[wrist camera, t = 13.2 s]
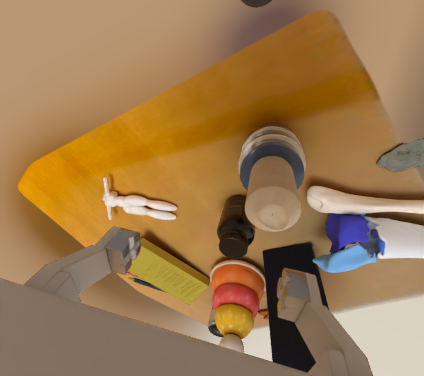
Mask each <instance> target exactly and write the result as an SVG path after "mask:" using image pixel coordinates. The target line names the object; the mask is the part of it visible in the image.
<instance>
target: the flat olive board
mask: <svg viewBox="0 0 424 376" xmlns="http://www.w3.org/2000/svg"><path fill="white" fill-rule="evenodd" d="M139 241H140V242H141V250H140V253H139V255H138V257H137V258H136V259H135V260H133V261H132V266H131V267H130V269H129V270H128V272H130V273H132V274H134V275H136V276H137V277H139V278H141V279H143V280H145V281H147V282H148V283H150V284H152V285H154V286H156V287H157V288H159V289H161V290H163V291H165V292H167V293H168V294H170V295H172V296H174V297H176V298H177V299H179V300H181V301H183V302H185V303H187V304H188V305H190V304H191V303H192V302H193V301H194V300H195V299H196V298H197V297H198V296H199V295H200V294H201V293H202V292H203V291H204V290H205V289H206V288H207V287H208V286H209V282H210V279H209V278H208V277H206V276H205V275H203V274H201V273H200V272H198V271H196V270H195V269H193V268H192V267H190V266H188V265H187V264H185V263H183V262H182V261H180V260H178V259H177V258H175V257H174V256H172V255H170V254H169V253H167V252H165V251H164V250H162V249H160V248H159V247H157V246H156V245H154V244H152V243H151V242H149V241H147V240H146V239H144V238H143V237H142V238H141V239H140V240H139Z"/></svg>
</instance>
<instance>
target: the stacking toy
mask: <svg viewBox="0 0 424 376" xmlns="http://www.w3.org/2000/svg"><path fill="white" fill-rule="evenodd" d="M210 281H211V284H212V290H213V306H214V309H215V323H216V326H217V328H218V330H219V331H220V333H221V334H222V335H223V336H224V337H223V338H222V339H221V341H220V345H219V346H222V347H225V348H229V349H232V350H235V351H238V352H242V353H244V346H243V342H242V340H241V339H243V338H245V337H246V336H247V335H248V334H249V333H250V331H251V330H252V328H253V324H254V317H255V316H256V314H257V312H258V309H259V301H260V300H261V298H262V295H263V293H264V292H265V290H266V282H265V277H264V275H263V274H262V272H261V271H260V270H259V269H258V268H256V267H255V266H253V265H252V264H250V263H247V262H244V261H240V260H226V261H223V262H220V263H219V264H217V265H216V266H215V267H214V268H213V269H212V271H211V273H210Z"/></svg>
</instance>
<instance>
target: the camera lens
mask: <svg viewBox="0 0 424 376" xmlns="http://www.w3.org/2000/svg"><path fill="white" fill-rule="evenodd" d="M208 328H209V331H210V332H211V333H212V334H214V335H216V336H219V337H224V336H223V335H222V334H221V333H220V331H219V330H218V328H217V326H216V323H215V309H214V306H213V307H212V311H211V315H210V319H209V324H208Z"/></svg>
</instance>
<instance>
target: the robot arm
mask: <svg viewBox="0 0 424 376" xmlns="http://www.w3.org/2000/svg"><path fill="white" fill-rule="evenodd" d="M139 238H140V233H138V232H135V231H132V230H128V229H124V228H120V227H116V226H114V227H112V228H111V229H110V230H109V231H108V232H107V233H106V234H105V235H104V236H103V237H102V238H101V239H100V241H99V242H98V243H97V244H96V245H95V246H94V245H91V246H89V247H87V248H84V249H82V250H79V251H77V252H75V253H72V254H70V255H68V256H65V257H63V258H61V259H58V260H56V261H54V262H51V263H49V264H46V265H45V266H44V267H43V268H42V269H40V270H39V271H38V272H37V273H36V274H35V275H34V276H33V277H32V278H30V279H29V280H28V281H27V282H26V283H25V284H24V285H21V284H17V283H14V282H11V281H8V280H4V279H1V278H0V376H373V374H372V371H371V368H370V365H369V362H368V359H367V357H366V356H365V354H364V353H363V352H362V351H361V350H360V348H359V347H358V346H357V345H356V343H355V342H354V341H353V340H352V338H351V337H350V336H349V335H348V334H347V332H346V331H345V330H344V328H343V327H342V326H341V325H340V324H339V322H338V321H337V320H336V319H335V317H334V316H333V315H332V313H331V312H330V311H329V310H328V308H327V307H326V306H323V305H322V301H321V296H320V292H319V288H318V283H317V279H316V276H315V275H313V274H309V273H304V272H301V271H296V270H292V269H288V268H284V269H283V271H282V277H280V278H279V281H278V285H277V297H278V298H279V302H278V304H277V309H278V317H279V318H282V319H285V320H289V321H292V322H295V324H296V326H297V328H298V330H299V332H300V334H301V335H302V337H303V339H304V341H305V343H306V345H307V346H308V348H309V350H310V352H311V354H312V356H313V358H314V359H315V361H316V364H315V365H314V366H313V367H312V368H311V370H310V371H309V372H308V373H307V372H303V371H300V370H297V369H294V368H290V367H287V366H284V365H281V364H277V363H274V362H271V361H268V360H264V359H261V358H258V357H255V356H251V355H248V354H245V353H242V352H238V351H235V350H232V349H229V348H225V347H222V346H219V345H215V344H212V343H209V342H206V341H203V340H199V339H196V338H193V337H190V336H186V335H183V334H180V333H177V332H173V331H170V330H167V329H164V328H160V327H157V326H154V325H150V324H147V323H144V322H141V321H137V320H134V319H131V318H128V317H125V316H121V315H118V314H114V313H112V312H108V311H105V310H101V309H99V308H95V307H92V306H89V305H85V304H82V303H81V300H80V297H79V295H78V293H80V292H81V291H83V290H85V289H86V288H88V287H89V286H91V285H92V284H94V283H95V282H97V281H98V280H100V279H102V278H103V277H105V276H106V275H108V274H109V273H111V271H112V272H116V273H120V274H124V275H126V273H127V272H128V270H129V269H130V267H131V266H132V261H133V260H135V259H136V258H137V257H138V255H139V253H140V250H141V242H140V241H139Z"/></svg>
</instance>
